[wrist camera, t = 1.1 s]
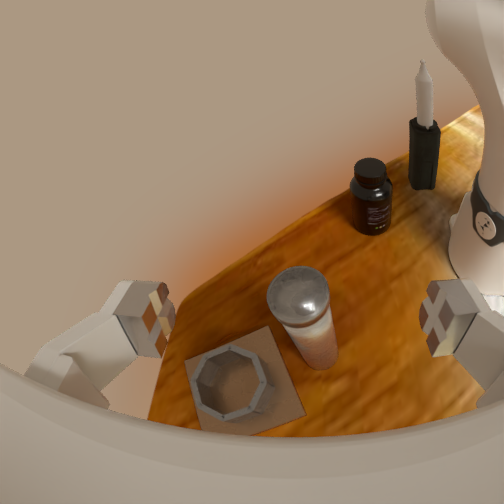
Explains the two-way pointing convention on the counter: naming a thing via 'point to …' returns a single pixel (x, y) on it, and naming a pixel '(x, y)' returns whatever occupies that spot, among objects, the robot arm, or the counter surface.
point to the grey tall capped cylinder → (305, 314)
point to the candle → (423, 135)
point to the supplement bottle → (371, 197)
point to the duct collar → (243, 386)
